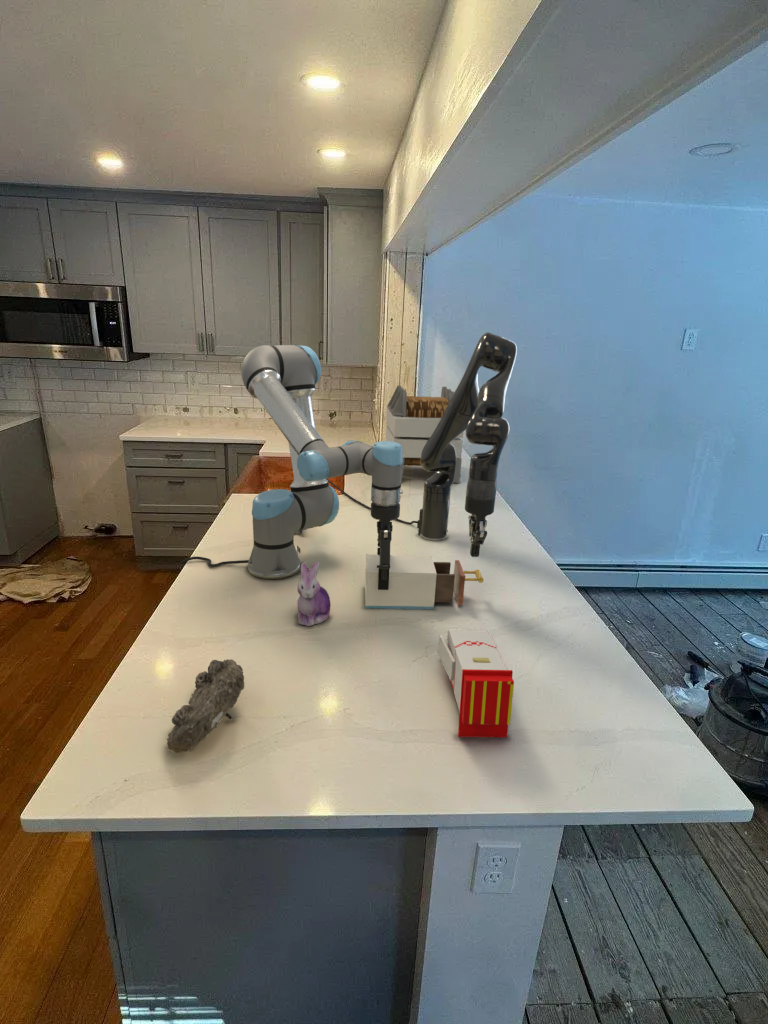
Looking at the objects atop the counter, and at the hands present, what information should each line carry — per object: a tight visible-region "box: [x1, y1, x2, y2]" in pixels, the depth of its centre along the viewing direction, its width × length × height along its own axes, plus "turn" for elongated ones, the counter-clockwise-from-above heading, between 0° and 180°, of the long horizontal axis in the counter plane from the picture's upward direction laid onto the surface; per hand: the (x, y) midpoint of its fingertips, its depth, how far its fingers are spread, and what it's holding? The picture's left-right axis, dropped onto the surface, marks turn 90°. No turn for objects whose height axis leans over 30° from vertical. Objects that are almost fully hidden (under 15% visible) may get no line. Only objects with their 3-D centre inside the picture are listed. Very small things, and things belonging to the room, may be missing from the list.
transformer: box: [384, 384, 465, 484], centre depth 268 cm, size 34×33×41 cm
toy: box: [437, 628, 515, 738], centre depth 117 cm, size 12×13×30 cm
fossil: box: [166, 658, 245, 754], centre depth 106 cm, size 22×10×15 cm
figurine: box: [297, 561, 331, 627], centre depth 141 cm, size 9×10×15 cm
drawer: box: [433, 559, 484, 606], centre depth 154 cm, size 23×10×9 cm, turn 92°
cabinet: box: [364, 553, 437, 610], centre depth 154 cm, size 18×11×11 cm, turn 92°
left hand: (382, 579), depth 153 cm, fingers closed on cabinet, 11 cm apart
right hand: (474, 555), depth 152 cm, fingers closed
